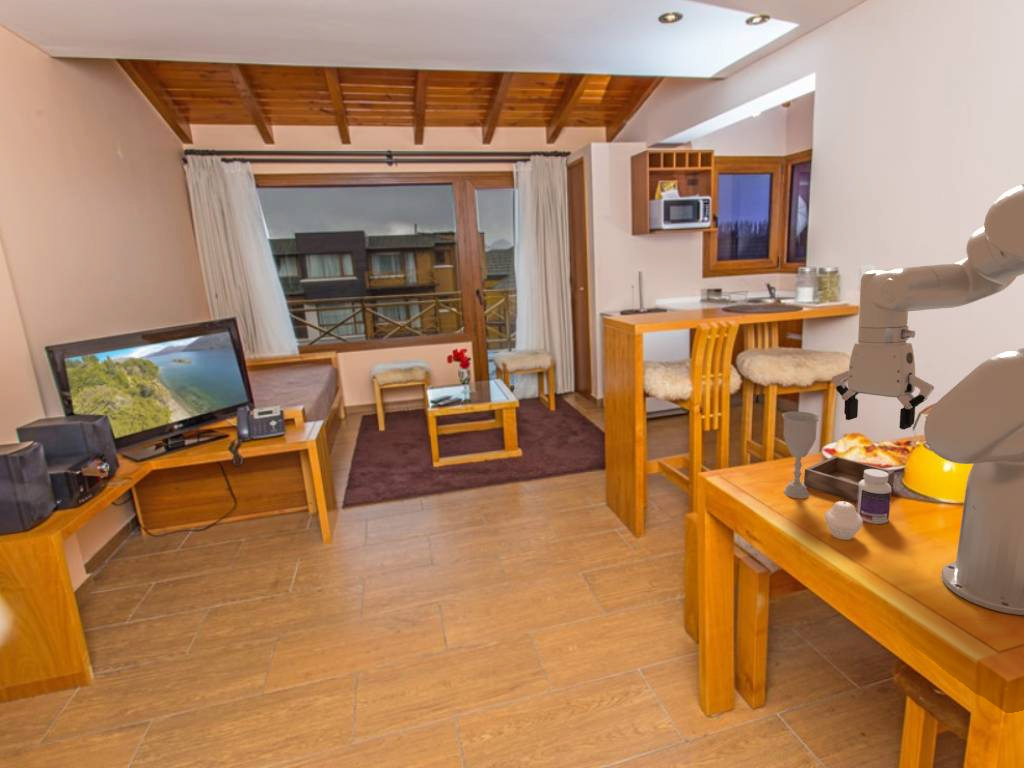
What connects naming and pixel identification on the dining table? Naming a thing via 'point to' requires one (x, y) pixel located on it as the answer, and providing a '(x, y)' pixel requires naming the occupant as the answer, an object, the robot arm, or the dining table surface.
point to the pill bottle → (874, 497)
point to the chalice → (799, 445)
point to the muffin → (843, 520)
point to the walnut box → (840, 477)
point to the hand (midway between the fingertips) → (877, 423)
